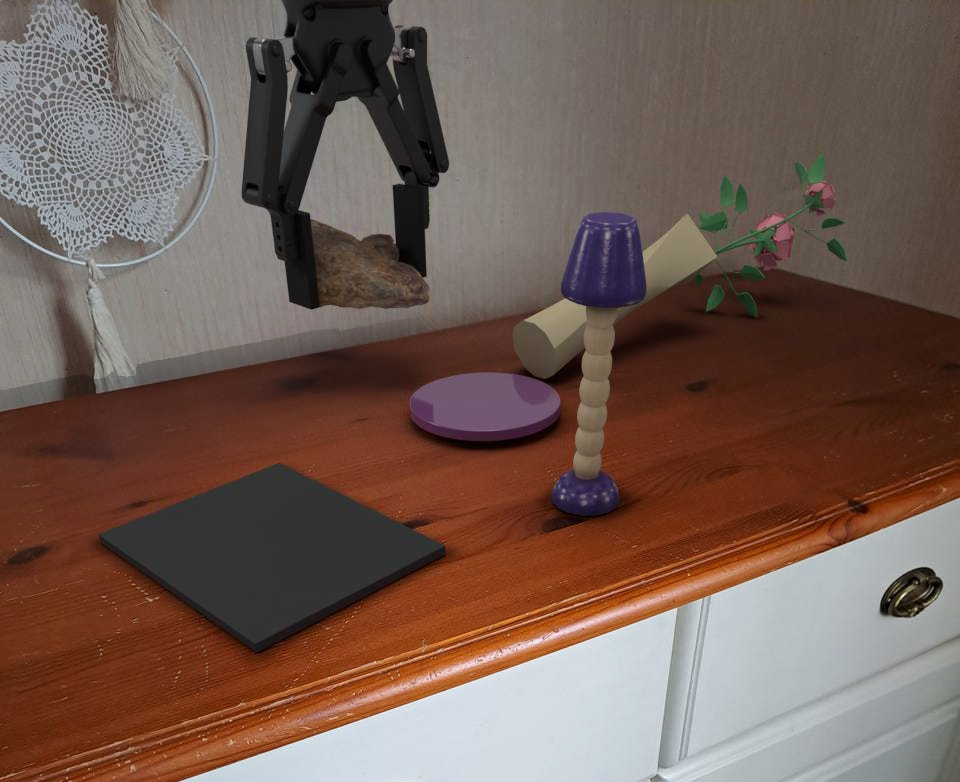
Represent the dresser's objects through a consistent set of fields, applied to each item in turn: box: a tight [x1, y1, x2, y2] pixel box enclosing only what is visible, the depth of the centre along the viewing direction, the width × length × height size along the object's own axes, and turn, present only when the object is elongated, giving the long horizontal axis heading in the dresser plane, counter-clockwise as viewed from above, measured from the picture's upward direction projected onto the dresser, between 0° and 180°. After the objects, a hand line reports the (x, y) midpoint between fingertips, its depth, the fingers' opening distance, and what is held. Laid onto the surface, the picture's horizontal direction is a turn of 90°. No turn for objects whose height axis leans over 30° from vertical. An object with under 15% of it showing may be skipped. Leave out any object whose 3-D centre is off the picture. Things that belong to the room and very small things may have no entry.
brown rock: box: [311, 218, 431, 310], centre depth 74 cm, size 10×12×5 cm
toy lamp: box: [550, 211, 646, 517], centre depth 55 cm, size 5×5×17 cm
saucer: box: [409, 372, 562, 442], centre depth 71 cm, size 11×11×1 cm
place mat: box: [98, 462, 447, 653], centre depth 56 cm, size 16×13×1 cm
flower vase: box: [511, 152, 849, 380], centre depth 84 cm, size 12×12×35 cm
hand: (360, 288), depth 75 cm, fingers closed on brown rock, 10 cm apart
